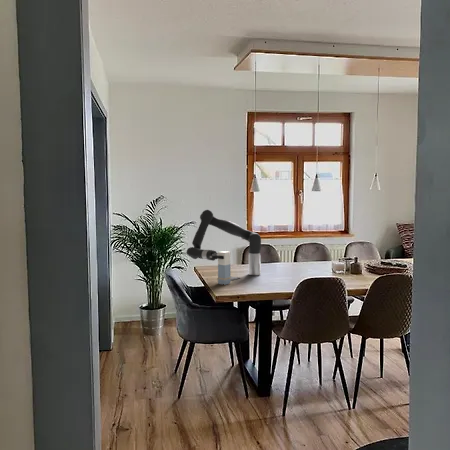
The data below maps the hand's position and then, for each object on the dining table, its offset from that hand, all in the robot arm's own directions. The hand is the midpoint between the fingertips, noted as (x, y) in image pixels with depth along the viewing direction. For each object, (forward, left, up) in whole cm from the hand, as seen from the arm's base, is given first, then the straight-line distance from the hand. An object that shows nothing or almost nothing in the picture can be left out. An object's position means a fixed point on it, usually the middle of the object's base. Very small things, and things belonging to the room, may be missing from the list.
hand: (226, 257), depth 334 cm
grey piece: (+2, -1, -20) cm, 20 cm away
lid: (+2, -1, -6) cm, 6 cm away
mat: (+2, -19, -20) cm, 27 cm away
